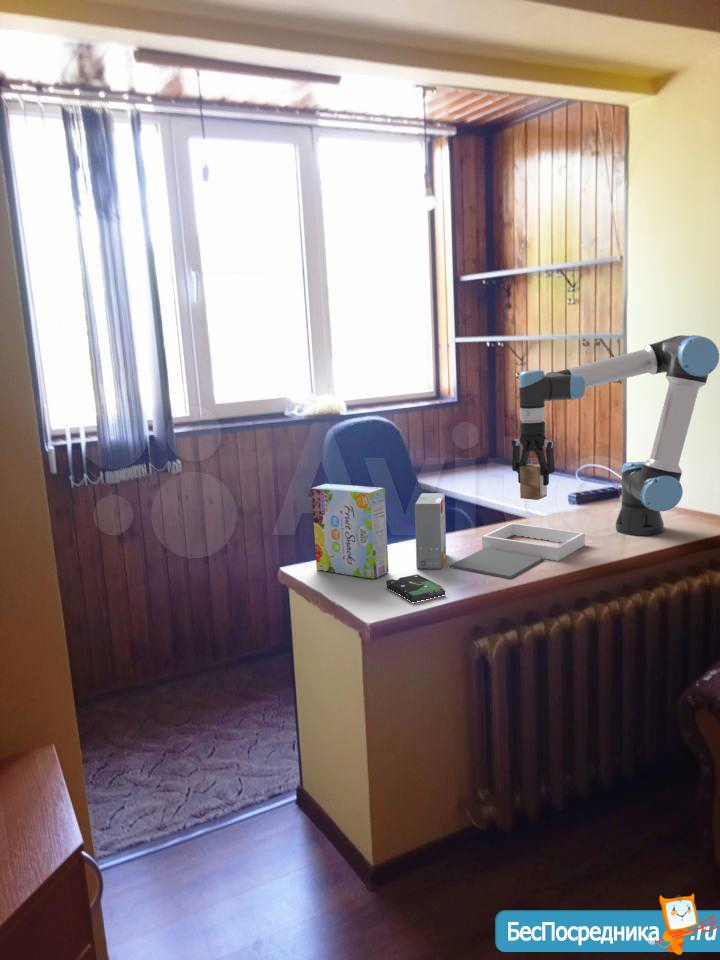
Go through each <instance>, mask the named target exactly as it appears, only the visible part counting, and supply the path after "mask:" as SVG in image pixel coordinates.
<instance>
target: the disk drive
mask: <svg viewBox="0 0 720 960" xmlns="http://www.w3.org/2000/svg"><path fill="white" fill-rule="evenodd" d="M385 581H386V584H385V585H386V589H387V588H388V589H387V590H389V589H390V590H392V591H394V592H396V593H398V594H400V595H401V596H403V597H405V598H406V599H408V600H410V601H411V602H417V601H421V600H426V599H430V598H434V597H438V596H442V595H445V596H446V590H445V589H444V587H442V586H441V585H440V584H437V583H435V582H433V581H432V580H430V579H428V578H426V577H424V576H422V575H420V574H412V575H407V576H403V577H399V578H398V579H397V580H396V579H387V580H385ZM390 590H389V591H390ZM392 591H391V592H392ZM394 592H393V593H394ZM396 593H395V594H396ZM398 594H397V595H398ZM401 596H400V597H401ZM403 597H402V598H403ZM406 599H405V600H406ZM411 602H410V603H411Z"/></svg>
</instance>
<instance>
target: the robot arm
mask: <svg viewBox="0 0 720 960" xmlns="http://www.w3.org/2000/svg"><path fill="white" fill-rule="evenodd" d="M719 362H720V352H719V349H718V346H717V345H716V343H715V342H714V341H713V340H711V339H710V338H708V337H706V336H701V335H681V334H680V335H676V336H672V337H669V338H665V339H663V340H661V341H658V342H654V343H651V344H648V345H645V346H644V347H643V349H639V350H637V351H632V352H629V353H624V354H621V355H618V356H612V357H609V358H605V359H602V360H597V361H594V362H589V363H585V364H581V365H578V366H574V367H569V368H567V369H563V370H558V371H550V372H546V373H545V371H544V370H541V369H536V370H535V369H532V370H530V369H529V370H523V371H521V372H520V373H519V378H518V382H519V383H518V391H519V395H518V396H519V420H520V423H519V433H520V437H519V438H515V439H512V440H511V446H512V463H511V466H512V467H511V470H512V471H513V472H517V478H518V479H517V482H518V484H520V467H521V466H524V465H527V462H528V459H529V456H530V453H531V452H534V453H535V455H536V457H537V460H538V464H539V465H540V468H541V471H542V474H541V475H540V496H544V495H547V496H548V491H547V490H548V489H547V490H546V485H547V486H548V485H549V484H550V474H553V473H555V471H556V470H555V468H556V467H555V457H554V456H555V454H554V446H555V441H554V440H551V441H550V440H548V439H547V437H546V436H545V435H546V422H545V421H544V420H545V419H546V415H545V413H546V410H545V402H550V401H565V400H566V401H567V400H568V401H569V400H571V401H574V400H581V399H583V397H584V396H585V394H586V393H585V392H586V389H589V388H591V387H597V386H600V385H604V384H608V383H611V382H612V383H613V382H616V381H621V380H623V379H625V380H626V379H628V378H631V377H636V376H640V375H644V374H651V375H652V376H653V375H656V374H661V373H663V374H664V373H666V374H665V378H666V380H667V381H668V387H667V391H666V395H665V399H664V402H663V406H662V410H661V414H660V419H659V422H658V426H657V429H656V433H655V437H654V441H653V444H652V449H651V454H650V457H649V459H647V460H645V461H631V462H625V463H623V465H622V467H621V469H622V470H621V507H620V510H619V512H618V515H617V518H616V521H615V530H616V531H617V532H620V533H622V534H626V535H632V536H633V535H634V536H654V535H659V534H662V533H663V532H664V531H665V530H664V529H665V527H664V526H665V524H664V520H663V517H662V513H661V512H667V511H670V510H671V509H673V508H675V507H676V506H678V504H679V503H680V501H681V500H682V497H683V495H684V494H683V493H684V492H683V491H684V490H683V486H682V484H681V482H680V481H681V477H682V473H683V470H682V468H681V467H680V461H681V458H682V457H681V456H682V453H683V449H684V446H685V442H686V439H687V438H686V437H687V435H688V431H689V427H690V424H691V420H692V415H693V412H694V409H695V405H696V401H697V397H698V393H699V390H700V388H702V387H704V386H705V385H706V384H707V381H708V377H709V375H710V374H711V373H713V371H714V370H716V368H717V367H718V364H719ZM521 446H522V451H521ZM544 446H545V450H544ZM544 452H545V453H544ZM520 454H521V455H520ZM545 454H546V457H545ZM661 532H662V533H661Z"/></svg>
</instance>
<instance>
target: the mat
mask: <svg viewBox="0 0 720 960" xmlns="http://www.w3.org/2000/svg"><path fill="white" fill-rule="evenodd" d="M543 561H544V559H543V557H537V556H531V555H525V554H518V553H512V552H506V551H500V550H494V549H488V548H481V549H480V550H477V552H474V553H472V554H470V555H468V556H466V557H464V558H460V559H459V560H457V561H455V562H453V563H451V564H450V566H449V567H450V568H451V567H454V568H453V569H456V568H458V569H457V570H461V569H462V570H463V571H467V572H474V573H479V574H483V575H488V576H492V577H493V576H494V577H499V578H503V577H504V578H503V579H510V580H511V579H512V578H515V577H516V576H518V575H520V574H521V573H523V572H525V571H527V570H528V569H530V568H532V567H534V566H535V565H537V564H539V563H541V562H543Z"/></svg>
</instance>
